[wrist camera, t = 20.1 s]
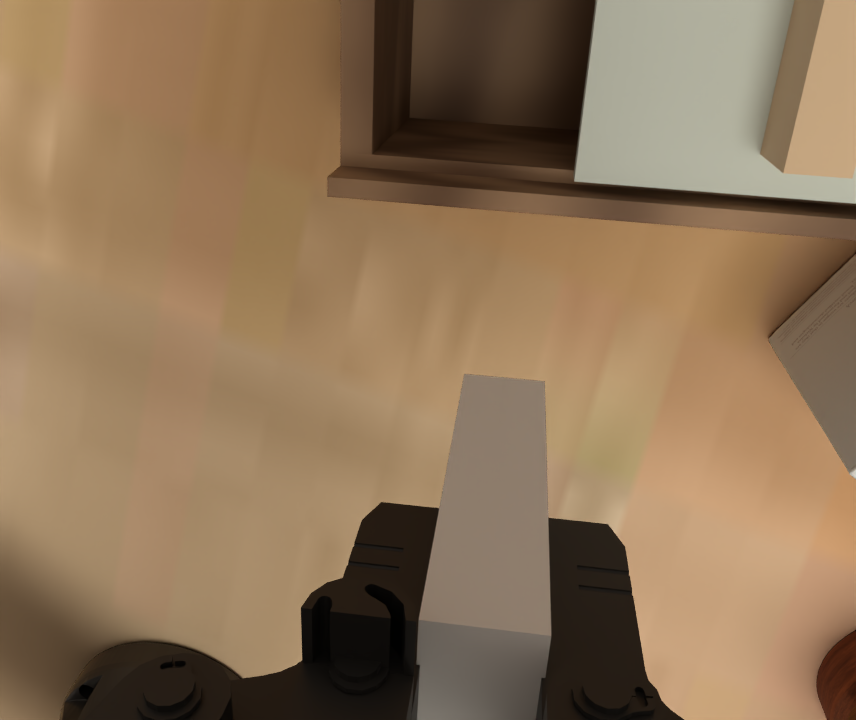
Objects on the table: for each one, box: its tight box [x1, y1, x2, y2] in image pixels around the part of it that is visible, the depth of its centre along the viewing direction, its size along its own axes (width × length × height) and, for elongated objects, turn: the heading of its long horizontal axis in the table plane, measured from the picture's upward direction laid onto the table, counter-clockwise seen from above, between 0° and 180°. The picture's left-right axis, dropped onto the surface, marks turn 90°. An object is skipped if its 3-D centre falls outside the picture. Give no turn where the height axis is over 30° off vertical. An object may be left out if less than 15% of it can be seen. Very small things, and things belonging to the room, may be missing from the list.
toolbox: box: [328, 0, 856, 240], centre depth 31 cm, size 20×13×12 cm, turn 87°
